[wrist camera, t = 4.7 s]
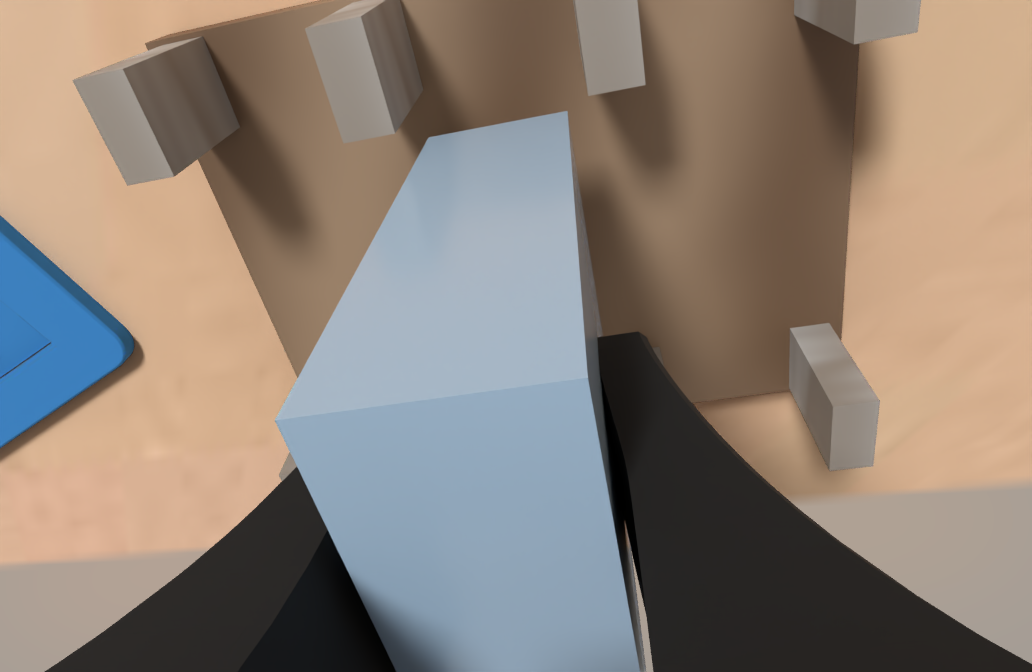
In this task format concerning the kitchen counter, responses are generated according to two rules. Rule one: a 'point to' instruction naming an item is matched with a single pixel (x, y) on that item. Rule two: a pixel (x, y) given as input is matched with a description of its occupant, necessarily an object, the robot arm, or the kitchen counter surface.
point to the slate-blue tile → (474, 419)
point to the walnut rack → (597, 149)
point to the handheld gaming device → (48, 336)
